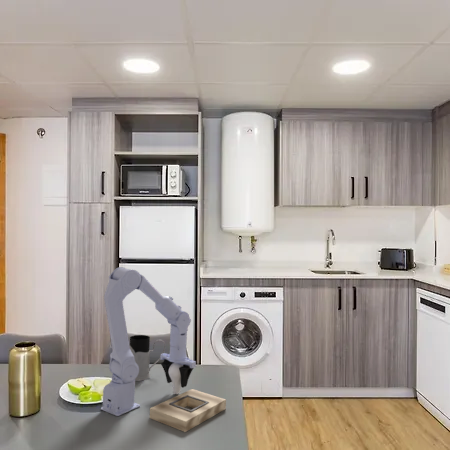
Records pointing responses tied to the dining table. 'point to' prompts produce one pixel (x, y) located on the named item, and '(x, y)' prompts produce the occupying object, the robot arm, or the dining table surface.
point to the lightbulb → (175, 377)
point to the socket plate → (184, 418)
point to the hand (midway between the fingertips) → (176, 384)
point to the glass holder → (142, 354)
